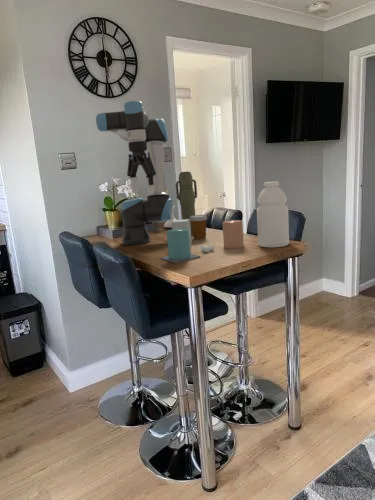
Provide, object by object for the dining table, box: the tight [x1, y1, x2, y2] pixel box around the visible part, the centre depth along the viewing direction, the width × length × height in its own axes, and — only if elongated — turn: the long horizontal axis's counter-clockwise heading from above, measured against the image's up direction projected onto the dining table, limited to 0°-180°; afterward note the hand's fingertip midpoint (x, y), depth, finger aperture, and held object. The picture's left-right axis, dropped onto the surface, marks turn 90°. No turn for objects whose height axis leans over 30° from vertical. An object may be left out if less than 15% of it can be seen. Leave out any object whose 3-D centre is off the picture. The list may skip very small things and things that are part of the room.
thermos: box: [175, 171, 198, 236], centre depth 220 cm, size 9×12×35 cm
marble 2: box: [208, 244, 215, 252], centre depth 173 cm, size 3×3×3 cm
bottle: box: [256, 181, 290, 248], centre depth 173 cm, size 14×14×28 cm
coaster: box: [160, 253, 201, 264], centre depth 164 cm, size 12×12×1 cm
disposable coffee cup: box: [190, 214, 208, 240], centre depth 205 cm, size 10×10×12 cm
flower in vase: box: [163, 188, 178, 229], centre depth 250 cm, size 13×11×25 cm
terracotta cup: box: [222, 219, 245, 249], centre depth 178 cm, size 9×9×11 cm
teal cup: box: [166, 228, 192, 260], centre depth 162 cm, size 9×9×11 cm
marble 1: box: [202, 245, 210, 253], centre depth 171 cm, size 3×3×3 cm
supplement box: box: [171, 219, 193, 246], centre depth 188 cm, size 7×7×13 cm
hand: (143, 193), depth 165 cm, fingers open, 13 cm apart
